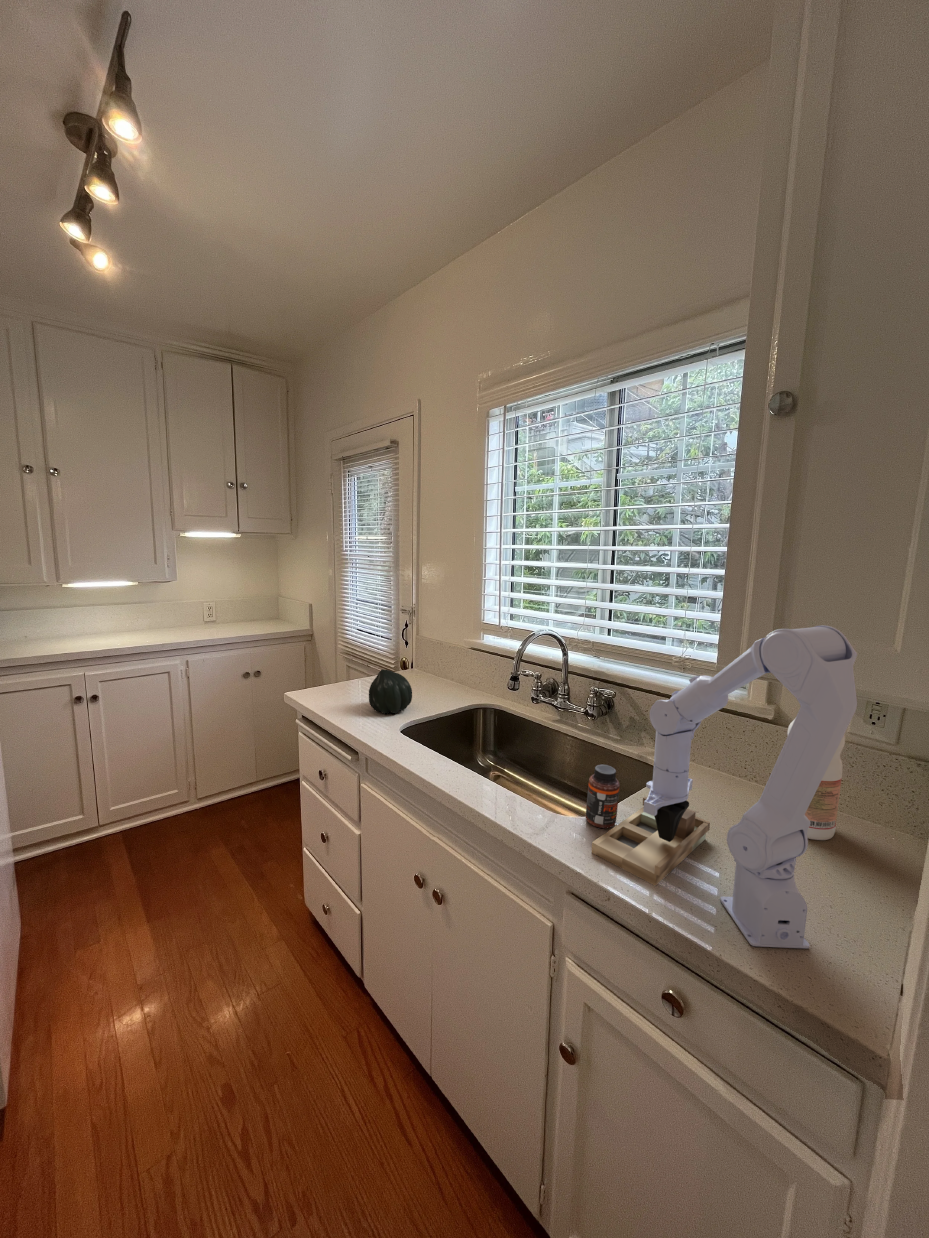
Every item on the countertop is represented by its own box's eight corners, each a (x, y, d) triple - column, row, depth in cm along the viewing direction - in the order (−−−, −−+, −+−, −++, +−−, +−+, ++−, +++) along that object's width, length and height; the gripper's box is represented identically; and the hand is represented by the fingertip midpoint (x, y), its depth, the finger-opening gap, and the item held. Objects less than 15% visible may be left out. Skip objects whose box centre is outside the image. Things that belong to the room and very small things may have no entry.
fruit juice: (768, 823, 99) (782, 688, 96) (790, 811, 105) (804, 682, 101) (821, 847, 92) (839, 700, 88) (843, 832, 97) (860, 693, 93)
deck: (658, 887, 80) (659, 866, 79) (589, 851, 89) (590, 832, 89) (708, 839, 94) (710, 821, 93) (643, 812, 103) (644, 796, 103)
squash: (427, 694, 167) (403, 658, 171) (399, 707, 155) (373, 668, 158) (403, 715, 174) (381, 680, 178) (374, 729, 162) (351, 691, 165)
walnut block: (685, 839, 90) (686, 819, 89) (663, 830, 93) (665, 810, 92) (694, 831, 93) (695, 811, 92) (672, 823, 96) (674, 803, 95)
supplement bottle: (604, 833, 95) (609, 779, 93) (579, 819, 100) (583, 767, 98) (622, 822, 99) (626, 770, 97) (596, 809, 104) (600, 758, 101)
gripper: (668, 748, 95) (663, 815, 96) (629, 770, 85) (624, 843, 87) (706, 760, 89) (700, 830, 91) (669, 784, 80) (663, 862, 82)
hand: (666, 838), depth 89 cm, fingers closed
